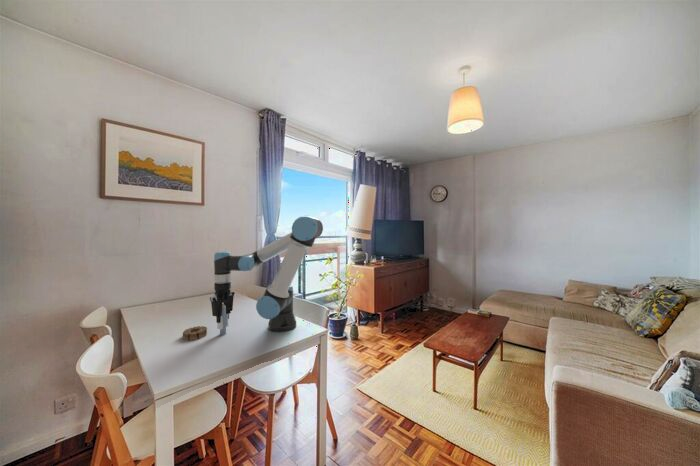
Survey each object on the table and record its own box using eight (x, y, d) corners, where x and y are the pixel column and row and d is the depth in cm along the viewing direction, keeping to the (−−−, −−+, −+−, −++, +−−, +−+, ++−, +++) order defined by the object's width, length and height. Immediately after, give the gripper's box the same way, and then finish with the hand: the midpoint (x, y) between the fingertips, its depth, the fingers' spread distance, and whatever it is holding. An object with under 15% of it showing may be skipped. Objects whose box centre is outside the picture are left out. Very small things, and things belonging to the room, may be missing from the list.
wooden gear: (211, 333, 128) (211, 327, 128) (192, 341, 118) (192, 335, 118) (197, 330, 132) (197, 325, 131) (178, 338, 122) (178, 332, 122)
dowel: (227, 333, 128) (227, 303, 128) (222, 335, 126) (222, 305, 125) (223, 332, 129) (223, 303, 129) (218, 334, 127) (218, 304, 126)
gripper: (229, 278, 136) (230, 321, 136) (203, 284, 121) (203, 332, 121) (240, 279, 133) (240, 322, 133) (214, 285, 118) (214, 334, 119)
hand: (222, 327), depth 127 cm, fingers closed on dowel, 3 cm apart
